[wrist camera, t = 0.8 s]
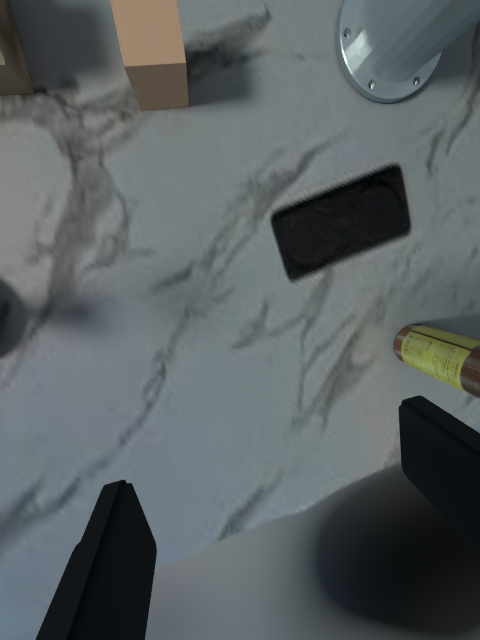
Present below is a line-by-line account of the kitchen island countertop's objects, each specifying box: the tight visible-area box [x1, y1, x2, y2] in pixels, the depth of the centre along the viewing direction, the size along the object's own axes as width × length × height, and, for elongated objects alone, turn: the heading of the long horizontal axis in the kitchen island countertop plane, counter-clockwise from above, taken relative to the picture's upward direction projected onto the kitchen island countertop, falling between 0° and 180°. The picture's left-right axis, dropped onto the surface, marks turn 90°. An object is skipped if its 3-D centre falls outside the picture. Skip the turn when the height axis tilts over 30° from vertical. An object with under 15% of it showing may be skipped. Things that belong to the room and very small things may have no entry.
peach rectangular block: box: [110, 0, 189, 111], centre depth 25 cm, size 5×5×7 cm
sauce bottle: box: [394, 324, 480, 398], centre depth 31 cm, size 6×6×20 cm
